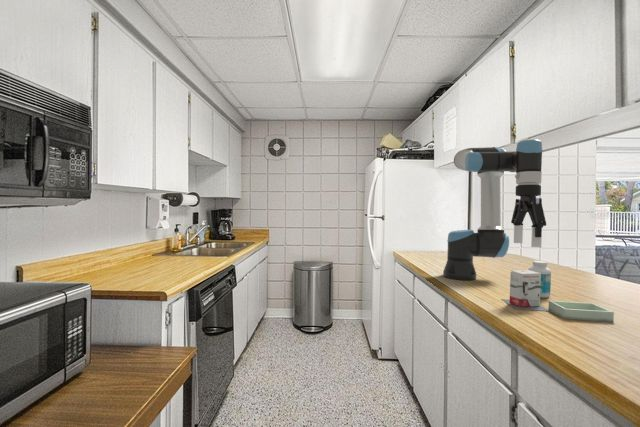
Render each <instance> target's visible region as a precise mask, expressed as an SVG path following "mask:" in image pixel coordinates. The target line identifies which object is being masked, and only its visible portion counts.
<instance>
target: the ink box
mask: <svg viewBox="0 0 640 427" xmlns="http://www.w3.org/2000/svg"><path fill="white" fill-rule="evenodd" d="M540 287H541V273H538V272H534V271H531V270H528V269H527V270H525V269H523V270H521V269H519V270H516V269H515V270H511V271H510V279H509V300H510V303H511V304H514V305H517V306H519V307H529V306H540V305H541V298H540Z"/></svg>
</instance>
